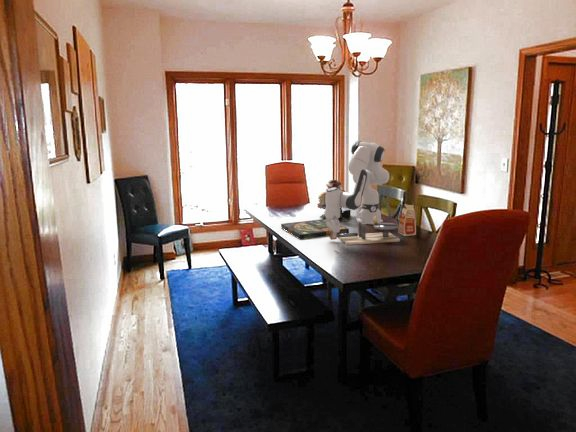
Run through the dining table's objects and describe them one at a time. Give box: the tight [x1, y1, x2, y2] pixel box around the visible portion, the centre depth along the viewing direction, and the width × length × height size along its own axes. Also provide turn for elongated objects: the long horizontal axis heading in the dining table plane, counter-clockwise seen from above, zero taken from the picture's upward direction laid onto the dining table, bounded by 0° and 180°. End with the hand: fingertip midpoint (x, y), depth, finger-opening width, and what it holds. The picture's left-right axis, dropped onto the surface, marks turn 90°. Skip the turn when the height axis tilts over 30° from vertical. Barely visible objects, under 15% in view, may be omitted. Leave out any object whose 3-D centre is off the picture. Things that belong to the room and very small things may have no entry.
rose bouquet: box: [317, 179, 352, 223], centre depth 334 cm, size 26×29×30 cm
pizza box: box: [280, 218, 350, 240], centre depth 299 cm, size 35×35×4 cm
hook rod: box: [329, 231, 359, 240], centre depth 269 cm, size 4×17×5 cm, turn 98°
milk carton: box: [397, 203, 417, 237], centre depth 282 cm, size 9×9×20 cm
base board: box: [338, 221, 401, 246], centre depth 271 cm, size 18×34×11 cm, turn 98°
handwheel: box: [372, 217, 399, 231], centre depth 270 cm, size 15×15×6 cm
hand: (333, 236), depth 268 cm, fingers open, 4 cm apart
